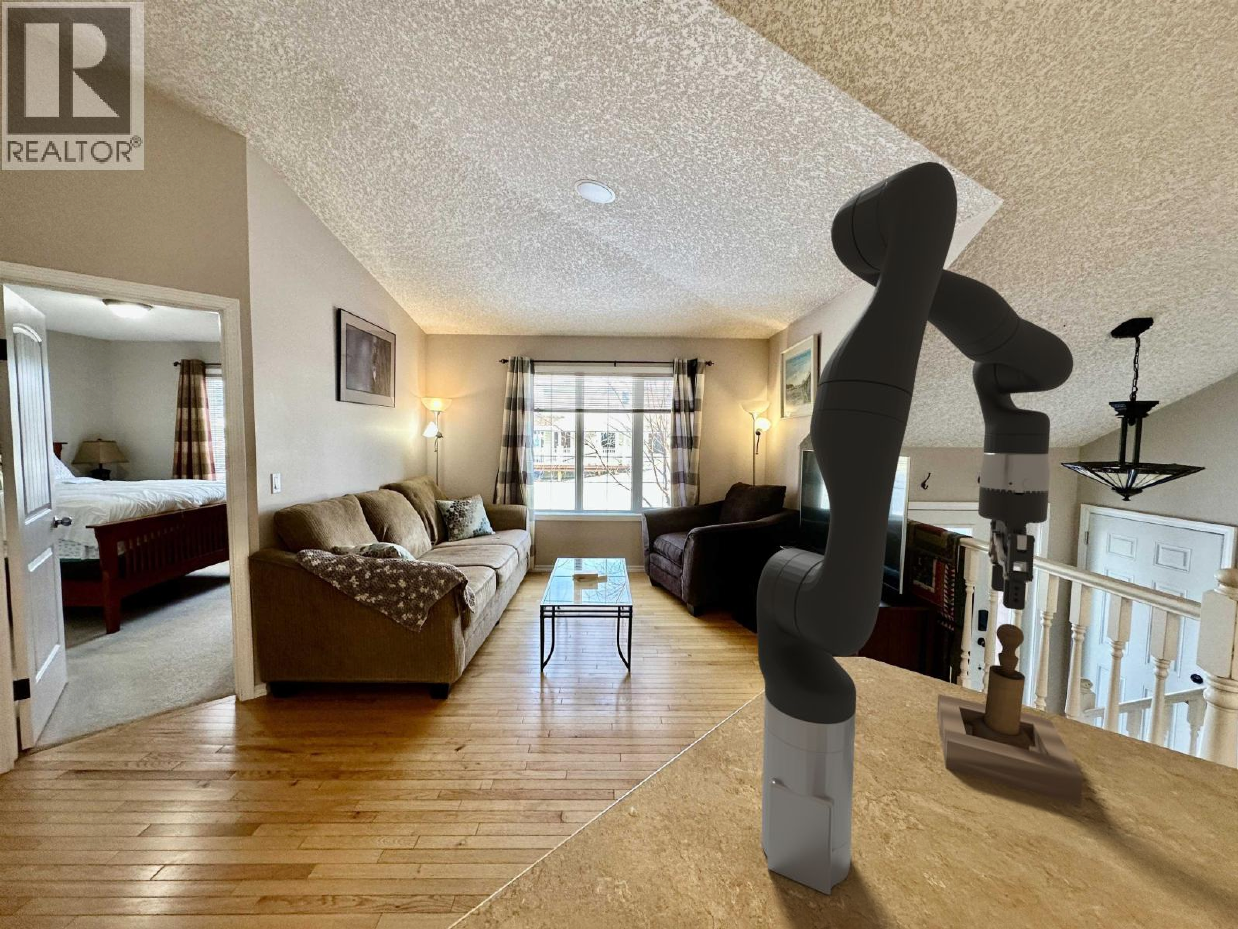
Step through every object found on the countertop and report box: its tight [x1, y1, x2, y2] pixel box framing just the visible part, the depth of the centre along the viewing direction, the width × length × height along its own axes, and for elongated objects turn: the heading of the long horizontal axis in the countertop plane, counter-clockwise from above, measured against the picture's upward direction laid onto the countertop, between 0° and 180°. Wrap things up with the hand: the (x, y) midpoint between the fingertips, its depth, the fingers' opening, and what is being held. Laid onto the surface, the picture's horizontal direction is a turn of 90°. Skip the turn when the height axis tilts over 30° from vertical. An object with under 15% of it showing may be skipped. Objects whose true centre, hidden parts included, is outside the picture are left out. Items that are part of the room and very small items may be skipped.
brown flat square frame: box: [936, 693, 1083, 807], centre depth 70 cm, size 14×14×4 cm
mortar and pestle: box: [972, 623, 1030, 750], centre depth 69 cm, size 7×6×18 cm
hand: (1006, 599), depth 68 cm, fingers open, 8 cm apart
